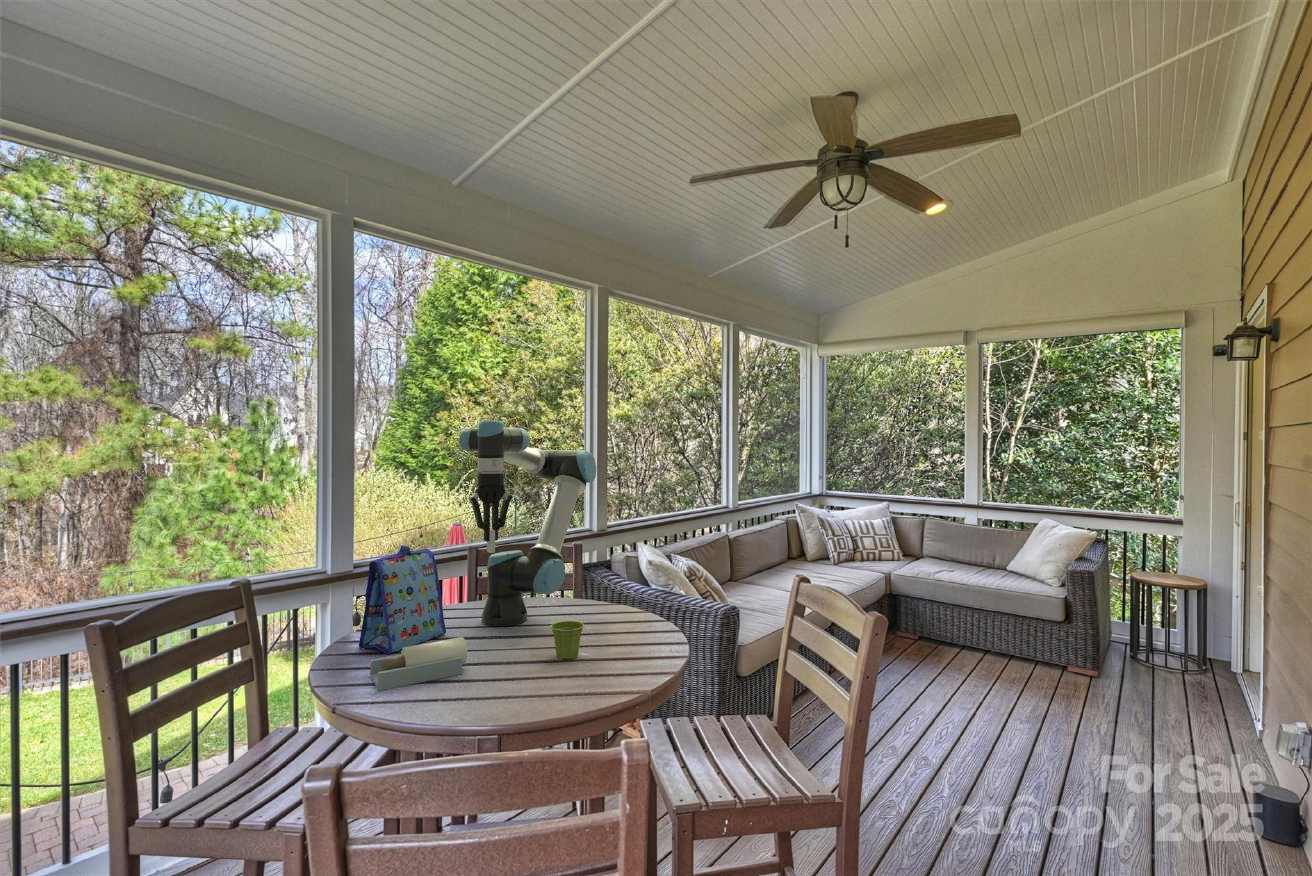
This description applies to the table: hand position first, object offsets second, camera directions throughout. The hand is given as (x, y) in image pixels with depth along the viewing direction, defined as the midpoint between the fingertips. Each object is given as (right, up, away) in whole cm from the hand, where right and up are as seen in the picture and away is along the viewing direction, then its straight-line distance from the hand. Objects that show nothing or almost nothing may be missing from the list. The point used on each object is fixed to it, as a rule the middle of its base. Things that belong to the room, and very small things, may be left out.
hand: (490, 551), depth 180 cm
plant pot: (+24, -28, -8) cm, 38 cm away
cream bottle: (-3, -23, -17) cm, 29 cm away
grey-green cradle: (-13, -28, -23) cm, 38 cm away
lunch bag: (-27, -28, +4) cm, 39 cm away
